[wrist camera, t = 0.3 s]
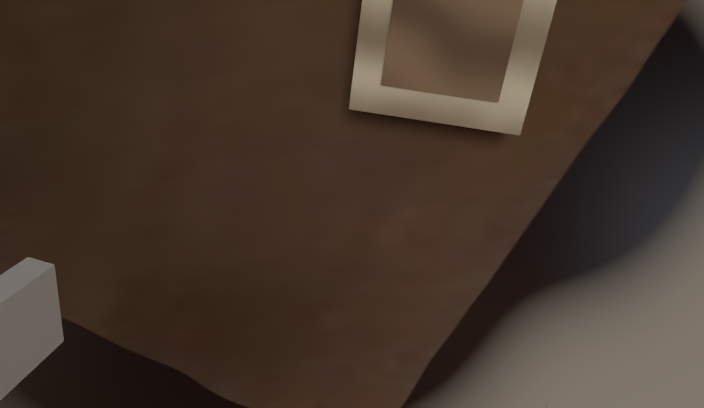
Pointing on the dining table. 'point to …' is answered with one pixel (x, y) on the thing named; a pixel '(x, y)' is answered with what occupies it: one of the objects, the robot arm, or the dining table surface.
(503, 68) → the plate
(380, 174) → the dining table surface
